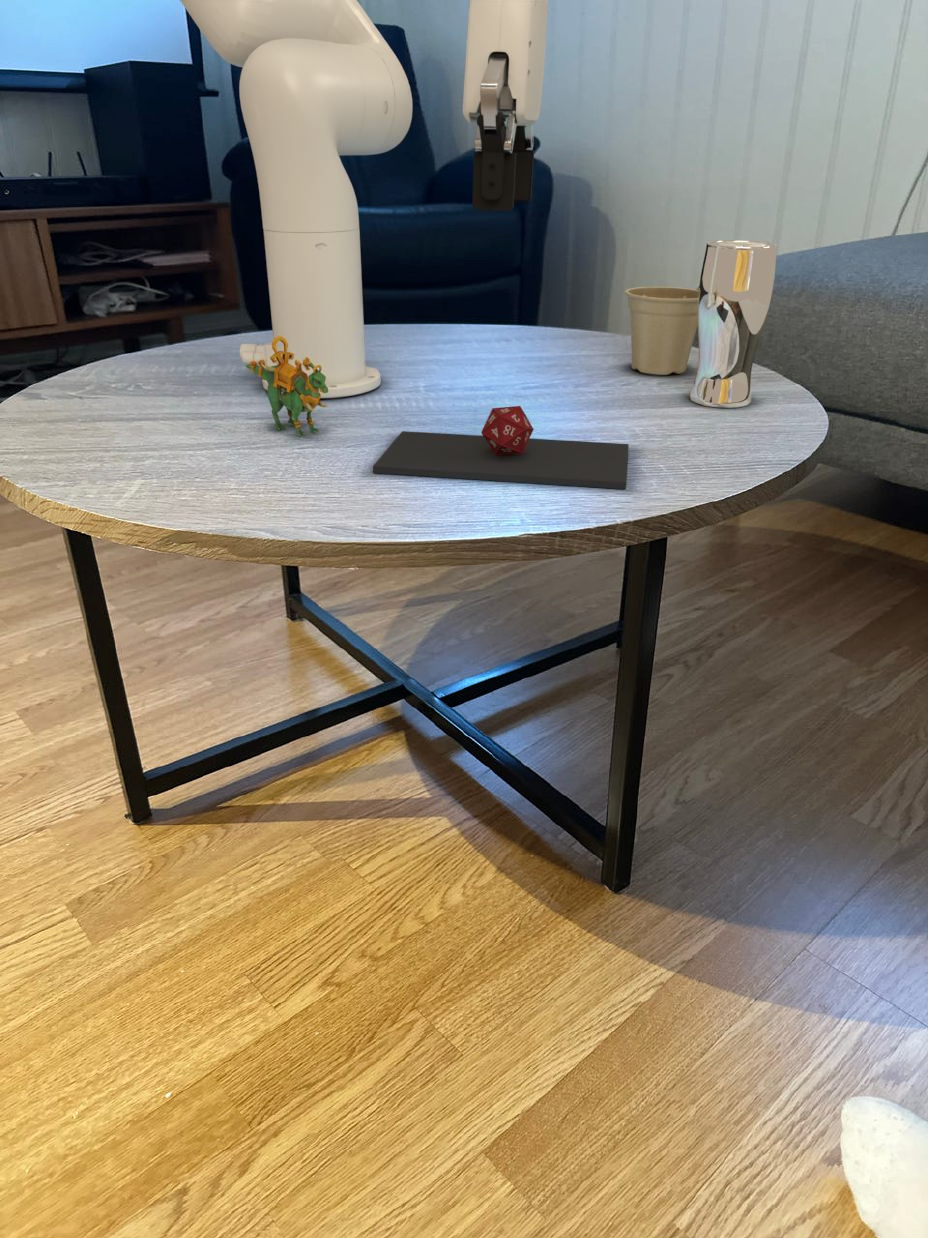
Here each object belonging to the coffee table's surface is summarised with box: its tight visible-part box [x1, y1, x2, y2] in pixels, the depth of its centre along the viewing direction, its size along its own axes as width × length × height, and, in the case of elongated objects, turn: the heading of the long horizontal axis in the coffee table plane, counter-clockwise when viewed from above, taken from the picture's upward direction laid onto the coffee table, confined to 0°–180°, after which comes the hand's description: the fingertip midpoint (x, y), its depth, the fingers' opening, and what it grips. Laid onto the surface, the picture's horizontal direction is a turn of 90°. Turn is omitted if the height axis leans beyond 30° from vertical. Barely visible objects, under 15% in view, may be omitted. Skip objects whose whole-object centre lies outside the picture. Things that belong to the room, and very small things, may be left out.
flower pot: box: [624, 286, 699, 376], centre depth 103 cm, size 9×9×9 cm
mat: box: [372, 430, 630, 490], centre depth 75 cm, size 20×10×1 cm, turn 80°
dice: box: [480, 405, 534, 455], centre depth 74 cm, size 4×4×4 cm
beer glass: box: [689, 239, 778, 409], centre depth 90 cm, size 7×7×15 cm
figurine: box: [244, 336, 329, 437], centre depth 82 cm, size 3×12×8 cm, turn 46°
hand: (503, 204), depth 75 cm, fingers open, 9 cm apart
